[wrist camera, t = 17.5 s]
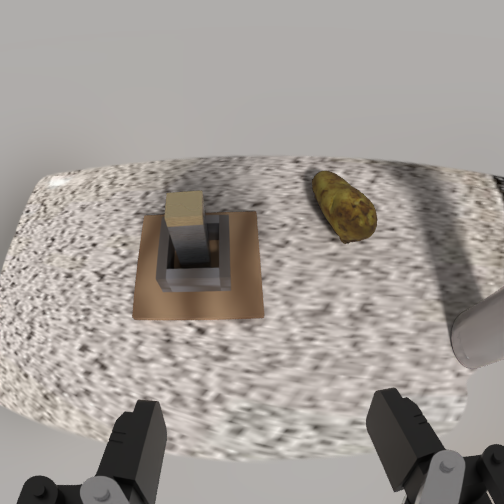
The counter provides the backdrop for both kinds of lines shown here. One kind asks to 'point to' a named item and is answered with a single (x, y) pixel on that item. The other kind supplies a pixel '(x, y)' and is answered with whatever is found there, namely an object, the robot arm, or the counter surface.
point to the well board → (200, 273)
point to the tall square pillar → (188, 228)
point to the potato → (344, 207)
